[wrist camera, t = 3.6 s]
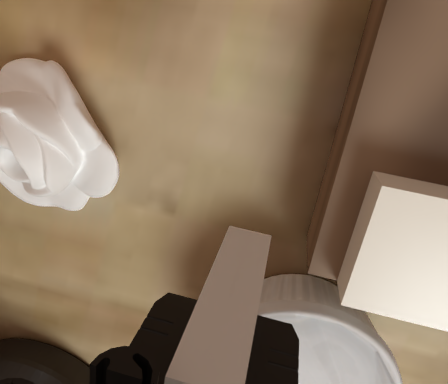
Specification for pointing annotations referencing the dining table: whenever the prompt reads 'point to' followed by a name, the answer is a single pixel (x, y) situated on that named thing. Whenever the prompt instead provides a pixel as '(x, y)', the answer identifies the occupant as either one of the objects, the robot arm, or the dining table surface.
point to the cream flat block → (399, 252)
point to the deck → (385, 121)
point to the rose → (50, 139)
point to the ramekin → (328, 333)
